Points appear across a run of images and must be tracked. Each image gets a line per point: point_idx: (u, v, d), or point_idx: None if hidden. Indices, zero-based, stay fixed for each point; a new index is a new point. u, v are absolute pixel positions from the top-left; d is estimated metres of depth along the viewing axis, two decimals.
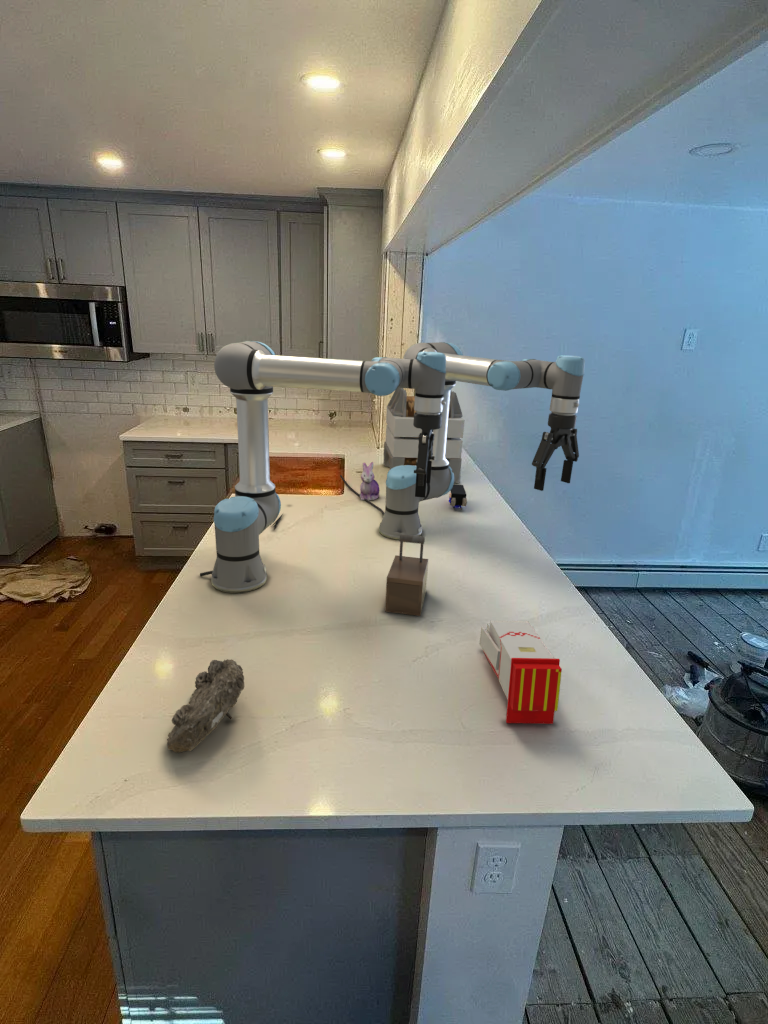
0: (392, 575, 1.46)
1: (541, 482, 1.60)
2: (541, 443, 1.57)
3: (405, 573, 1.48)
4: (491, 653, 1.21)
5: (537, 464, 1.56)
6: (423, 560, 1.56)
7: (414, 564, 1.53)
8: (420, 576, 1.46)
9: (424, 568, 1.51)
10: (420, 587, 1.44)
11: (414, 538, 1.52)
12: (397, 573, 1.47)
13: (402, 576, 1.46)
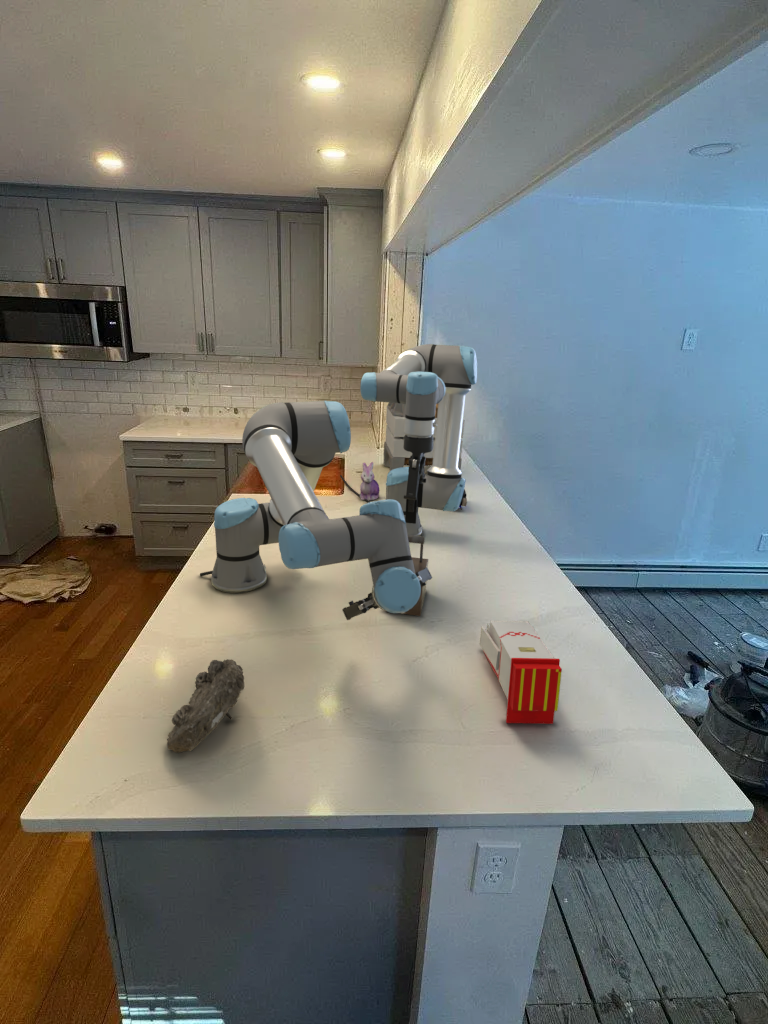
0: None
1: (414, 514, 1.43)
2: (410, 472, 1.39)
3: None
4: (491, 653, 1.21)
5: (413, 497, 1.38)
6: (423, 560, 1.56)
7: (414, 564, 1.53)
8: None
9: None
10: None
11: (414, 538, 1.52)
12: None
13: None
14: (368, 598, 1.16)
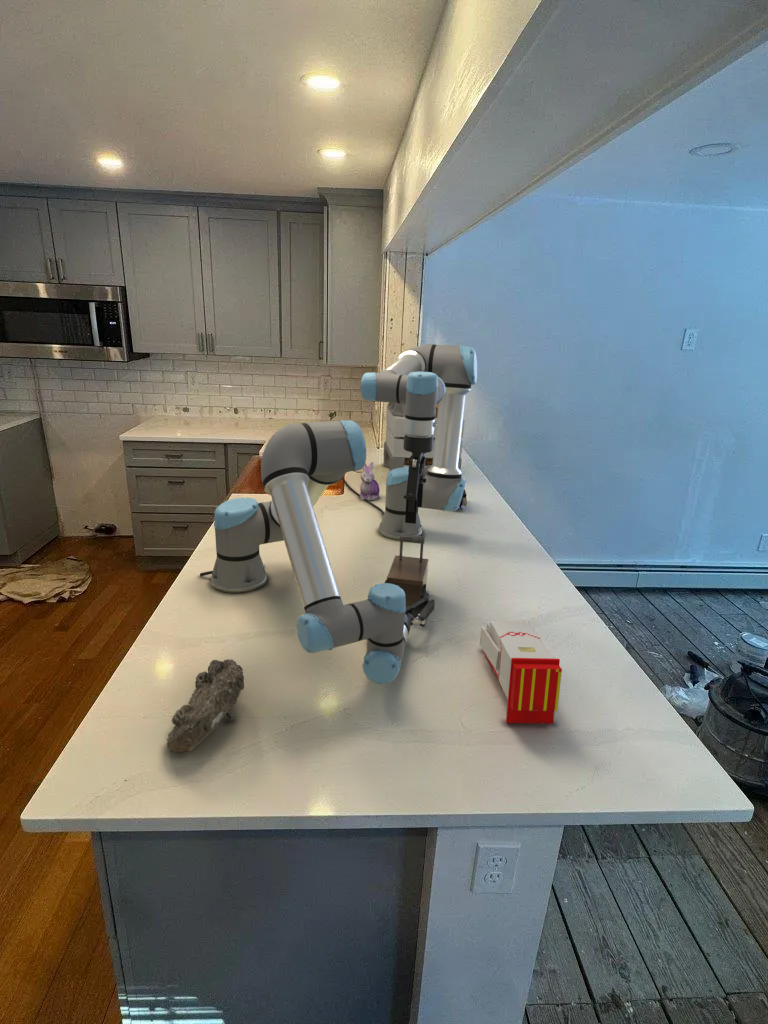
0: (392, 575, 1.46)
1: (414, 514, 1.43)
2: (410, 472, 1.39)
3: (405, 573, 1.48)
4: (491, 653, 1.21)
5: (413, 497, 1.38)
6: (423, 560, 1.56)
7: (414, 564, 1.53)
8: (420, 576, 1.46)
9: (424, 568, 1.51)
10: (420, 587, 1.44)
11: (414, 538, 1.52)
12: (397, 573, 1.47)
13: (402, 576, 1.46)
14: None
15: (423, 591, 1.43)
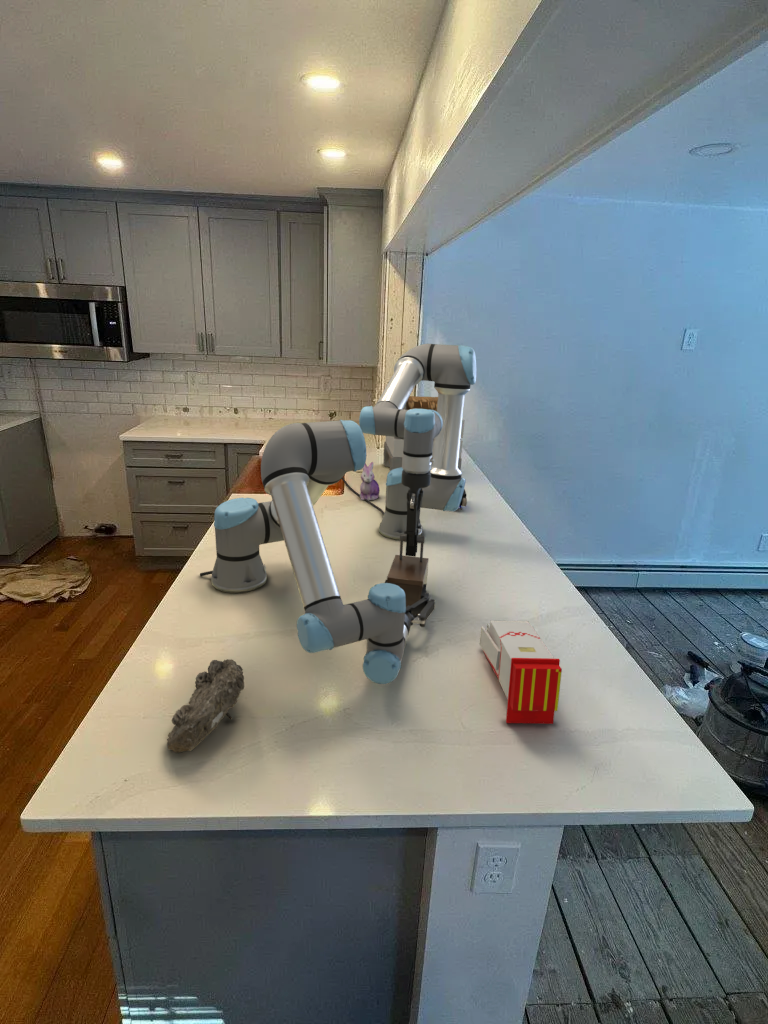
0: (392, 575, 1.46)
1: (414, 548, 1.52)
2: (408, 513, 1.45)
3: (405, 573, 1.48)
4: (491, 653, 1.21)
5: (413, 532, 1.47)
6: (423, 559, 1.56)
7: (414, 564, 1.53)
8: (420, 576, 1.46)
9: (424, 568, 1.51)
10: (420, 587, 1.44)
11: None
12: (398, 573, 1.47)
13: (402, 576, 1.46)
14: None
15: (423, 591, 1.43)
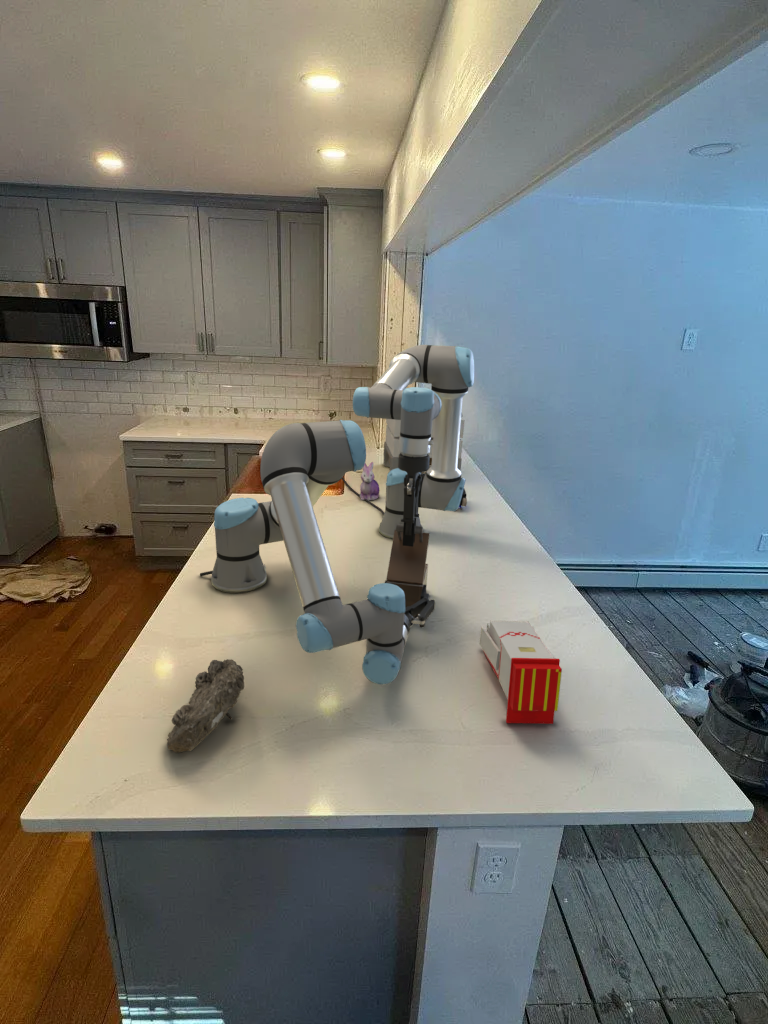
0: (391, 575, 1.45)
1: (411, 537, 1.42)
2: (405, 499, 1.35)
3: (405, 568, 1.45)
4: (491, 653, 1.21)
5: (410, 520, 1.38)
6: (424, 537, 1.49)
7: (414, 548, 1.48)
8: (420, 573, 1.44)
9: (424, 555, 1.47)
10: (420, 588, 1.44)
11: None
12: (397, 570, 1.45)
13: (402, 575, 1.44)
14: None
15: (423, 591, 1.43)
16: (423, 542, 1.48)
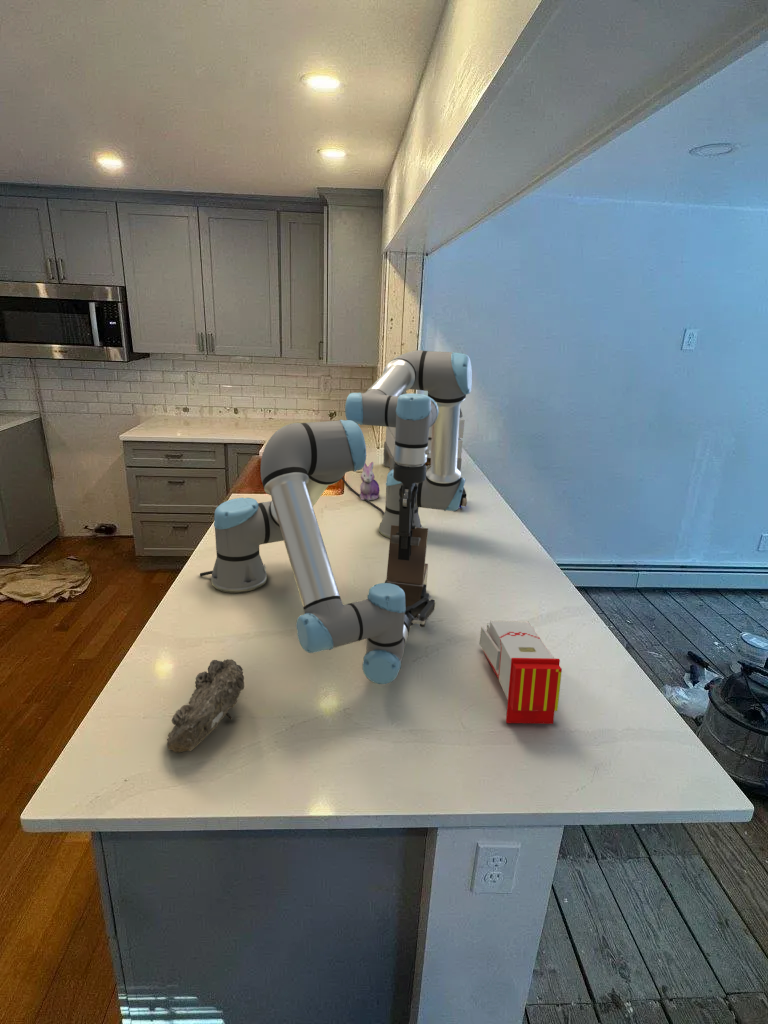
0: (391, 576, 1.44)
1: (407, 551, 1.35)
2: (401, 511, 1.28)
3: (404, 569, 1.43)
4: (491, 653, 1.21)
5: (406, 533, 1.31)
6: (422, 533, 1.42)
7: (412, 546, 1.43)
8: (419, 573, 1.43)
9: (423, 554, 1.42)
10: (420, 587, 1.44)
11: None
12: (396, 570, 1.44)
13: (401, 576, 1.44)
14: None
15: (423, 591, 1.43)
16: (421, 539, 1.42)
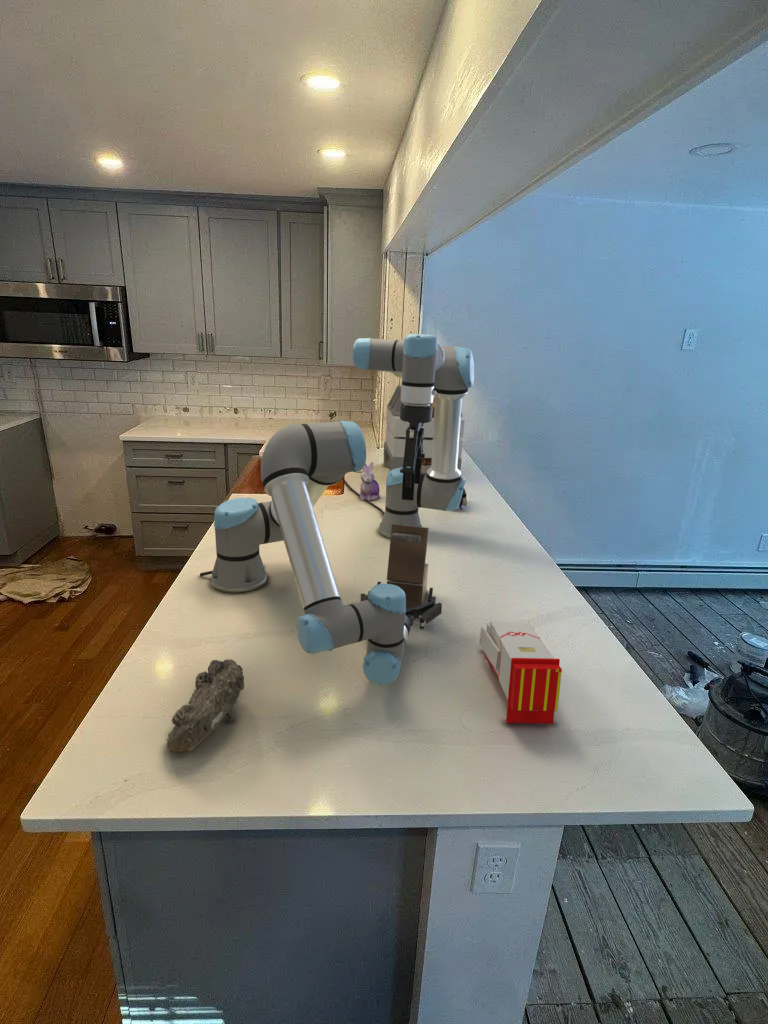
0: (391, 575, 1.44)
1: (411, 490, 1.31)
2: (407, 444, 1.27)
3: (404, 568, 1.44)
4: (491, 653, 1.21)
5: (410, 470, 1.27)
6: (422, 533, 1.43)
7: (413, 545, 1.43)
8: (420, 573, 1.43)
9: (424, 553, 1.43)
10: (420, 587, 1.44)
11: (408, 542, 1.36)
12: (397, 569, 1.44)
13: (402, 575, 1.44)
14: None
15: (430, 594, 1.42)
16: (422, 539, 1.43)
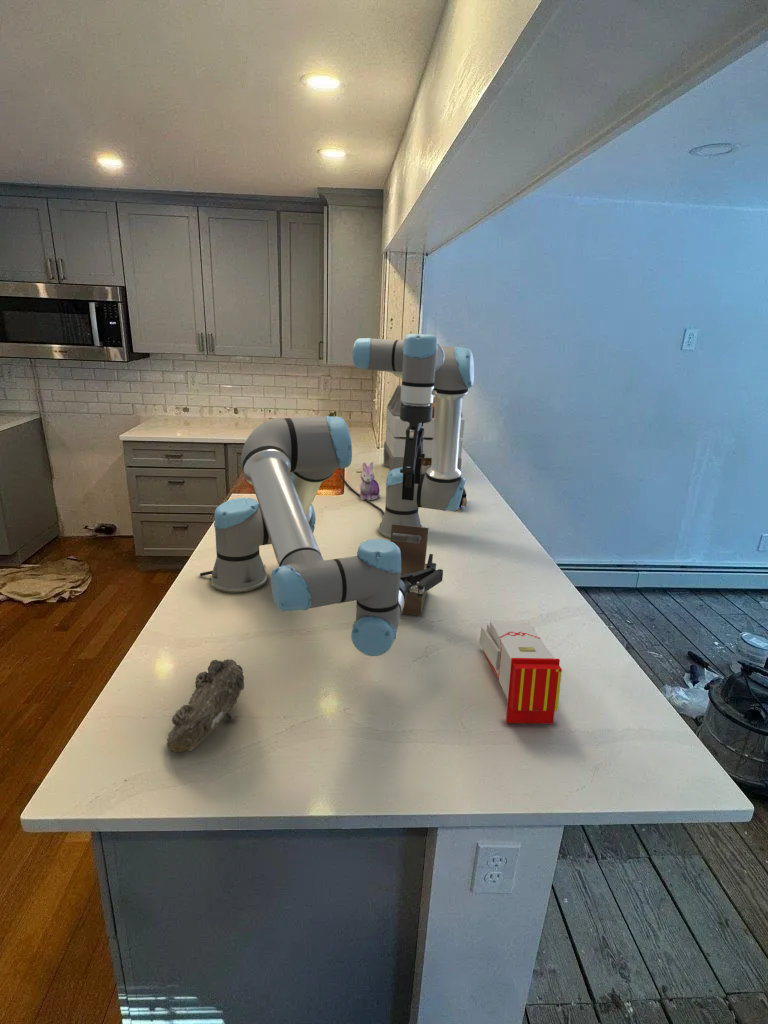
0: None
1: (411, 490, 1.31)
2: (407, 444, 1.27)
3: (404, 568, 1.44)
4: (491, 653, 1.21)
5: (410, 470, 1.27)
6: (422, 533, 1.43)
7: (413, 545, 1.43)
8: None
9: (424, 553, 1.43)
10: None
11: (408, 542, 1.36)
12: None
13: None
14: None
15: (429, 561, 1.26)
16: (422, 539, 1.43)
